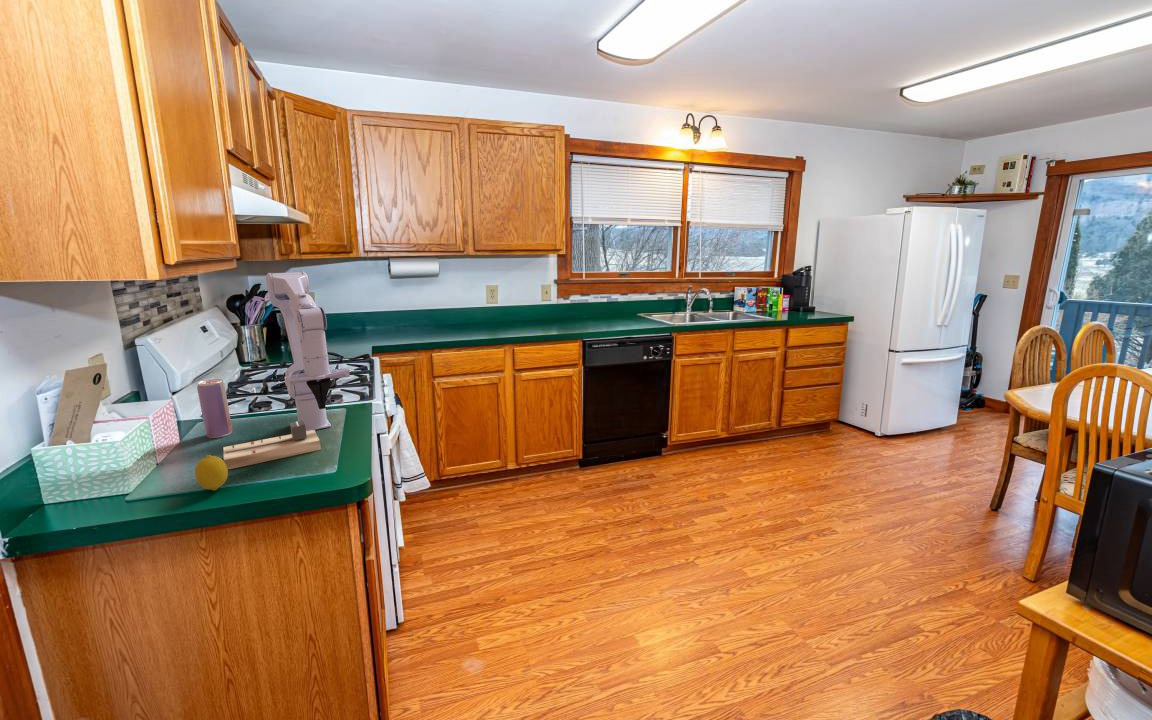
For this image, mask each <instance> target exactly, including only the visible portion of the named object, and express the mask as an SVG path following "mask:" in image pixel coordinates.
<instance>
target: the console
mask: <svg viewBox="0 0 1152 720" xmlns="http://www.w3.org/2000/svg"><path fill="white" fill-rule="evenodd" d="M306 435H307V438H304V439H299V440H294V441H293V438H292V435H291V433H290V434H286V435H280V436H275V437H269V438H264V439H259V440H255V441H249V442H242V443H238V444H233V445H229V446H223V461H224V462H225V464H226V466H227V470H228V471H229V470H233V469H237V468H242V467H246V466H251V465H256V464H260V463H264V462H269V461H275V460H278V459H283V458H284V459H285V458H288V457H294V456H297V455H303V454H307V453H312V452H316V451H320V450H321V451H322V448H321V440H320V438H319V436H318V434H317V432H316V430H310V431H306Z"/></svg>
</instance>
